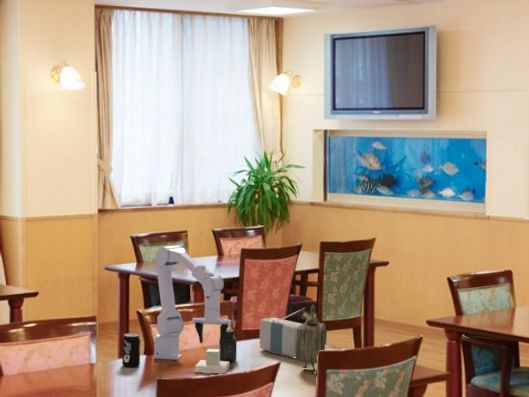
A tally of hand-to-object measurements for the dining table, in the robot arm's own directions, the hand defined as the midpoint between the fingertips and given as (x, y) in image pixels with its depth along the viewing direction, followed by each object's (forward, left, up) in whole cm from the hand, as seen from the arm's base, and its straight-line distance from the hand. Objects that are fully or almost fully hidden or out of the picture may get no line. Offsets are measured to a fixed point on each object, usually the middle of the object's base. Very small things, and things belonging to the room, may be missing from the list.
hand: (211, 343), depth 404 cm
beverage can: (-30, -5, -10) cm, 32 cm away
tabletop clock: (+37, +5, -10) cm, 39 cm away
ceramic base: (+1, -4, -10) cm, 11 cm away
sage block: (+2, -4, -7) cm, 8 cm away
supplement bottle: (+5, +13, -10) cm, 17 cm away
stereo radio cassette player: (+24, +32, -10) cm, 41 cm away
